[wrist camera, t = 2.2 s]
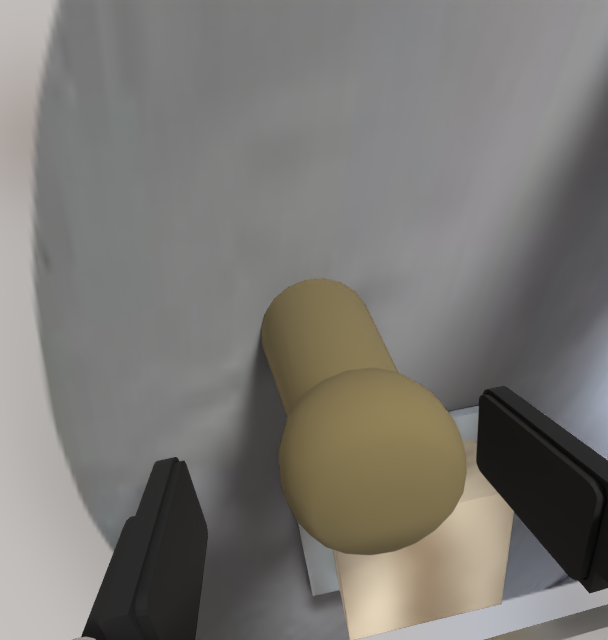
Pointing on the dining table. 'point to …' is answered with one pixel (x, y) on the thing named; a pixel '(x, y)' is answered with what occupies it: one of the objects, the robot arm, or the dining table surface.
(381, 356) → the olive brown knobbed peg
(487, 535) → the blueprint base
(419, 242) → the dining table surface
